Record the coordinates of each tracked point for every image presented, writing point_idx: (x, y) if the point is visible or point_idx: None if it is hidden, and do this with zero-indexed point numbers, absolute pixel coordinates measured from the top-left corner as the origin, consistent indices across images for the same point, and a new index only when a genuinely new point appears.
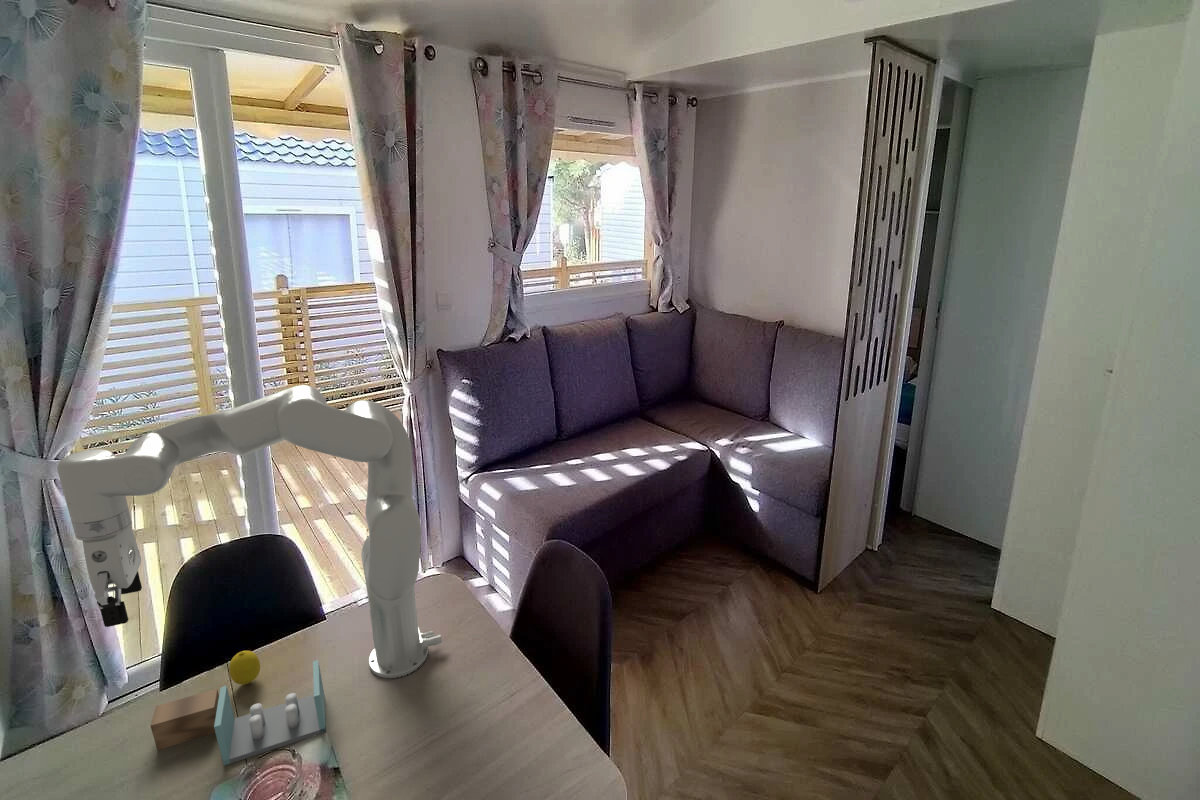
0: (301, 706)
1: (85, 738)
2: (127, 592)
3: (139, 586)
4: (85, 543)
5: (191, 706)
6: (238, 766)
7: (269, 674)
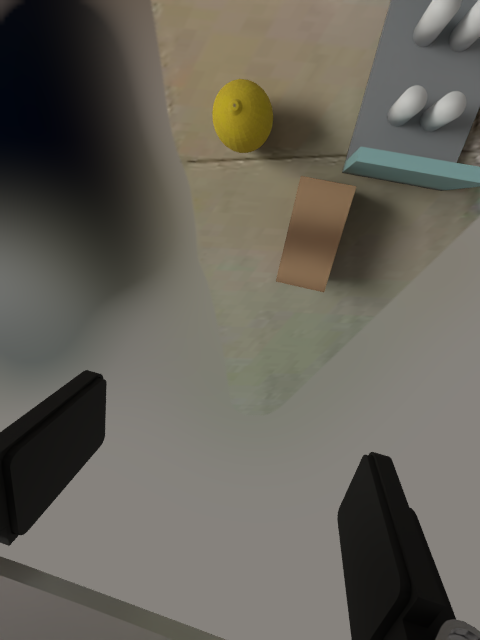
0: (418, 10)
1: (231, 353)
2: (102, 423)
3: (86, 389)
4: None
5: (322, 226)
6: None
7: None
